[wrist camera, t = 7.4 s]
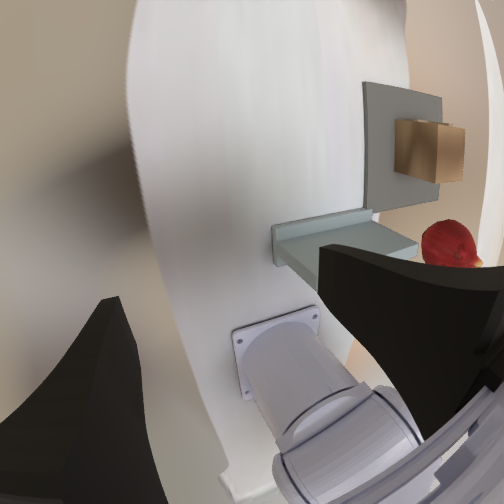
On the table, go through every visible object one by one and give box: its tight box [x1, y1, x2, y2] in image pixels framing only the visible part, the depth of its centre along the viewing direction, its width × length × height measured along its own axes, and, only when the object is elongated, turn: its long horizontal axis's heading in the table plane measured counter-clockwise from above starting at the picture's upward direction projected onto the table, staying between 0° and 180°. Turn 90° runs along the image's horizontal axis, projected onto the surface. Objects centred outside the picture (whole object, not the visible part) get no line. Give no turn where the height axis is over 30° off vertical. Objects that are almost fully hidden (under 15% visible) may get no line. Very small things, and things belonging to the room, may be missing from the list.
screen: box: [272, 208, 419, 292], centre depth 20 cm, size 3×9×6 cm, turn 95°
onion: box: [421, 219, 483, 268], centre depth 25 cm, size 6×6×8 cm
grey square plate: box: [363, 82, 442, 214], centre depth 23 cm, size 11×11×1 cm
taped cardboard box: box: [394, 119, 465, 184], centre depth 20 cm, size 5×5×5 cm
